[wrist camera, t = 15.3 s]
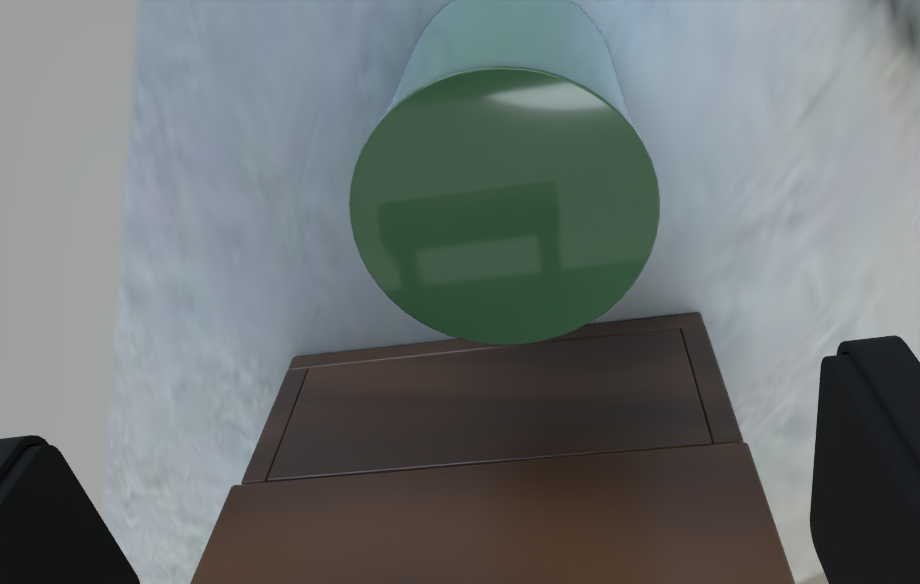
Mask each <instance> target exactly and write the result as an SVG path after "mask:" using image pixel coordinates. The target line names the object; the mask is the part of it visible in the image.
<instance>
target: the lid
mask: <svg viewBox="0 0 920 584" xmlns="http://www.w3.org/2000/svg"><path fill="white" fill-rule="evenodd" d="M190 584H795V582H794V579H793V576H792V573H791V570H790V567H789V564H788V561H787V558H786V555H785V552H784V549H783V546H782V543H781V540H780V537H779V535H778V532H777V529H776V526H775V523H774V520H773V517H772V514H771V511H770V508H769V505H768V502H767V499H766V496H765V493H764V490H763V487H762V484H761V481H760V478H759V475H758V472H757V469H756V466H755V463H754V461H753V458H752V455H751V452H750V449H749V446H748V444H747V443H733V444H721V445H709V446H697V447H685V448H673V449H661V450H649V451H638V452H626V453H614V454H602V455H590V456H578V457H566V458H554V459H542V460H530V461H518V462H506V463H495V464H483V465H471V466H459V467H447V468H435V469H423V470H411V471H399V472H387V473H375V474H364V475H352V476H340V477H328V478H316V479H304V480H292V481H280V482H268V483H256V484H244V485H234V486H232V487H231V489H230V492H229V494H228V496H227V499H226V501H225V503H224V506H223V508H222V510H221V513H220V515H219V518H218V520H217V522H216V525H215V527H214V529H213V532H212V534H211V536H210V539H209V541H208V543H207V546H206V548H205V550H204V553H203V555H202V558H201V560H200V562H199V565H198V567H197V569H196V572H195V574H194V576H193V579H192V581H191V583H190Z"/></svg>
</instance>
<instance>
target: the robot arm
mask: <svg viewBox="0 0 920 584" xmlns="http://www.w3.org/2000/svg"><path fill="white" fill-rule="evenodd" d="M810 528H811V534H812V539H813V543H814V547H815V550H816V553H817V555H818V558H819V560H820V563H821V565H822V568H823V570H824V572H825V575H826V577H827V580H828V582H829V584H920V362H919V361H918V359H917V358H916V357H915V355H914V354H913V353H912V351H911V350H910V348H909V347H908V346H907V344H906V343H905V342H904V341H903V340H902V339H901V338H900V337H898V336H886V337H878V338H869V339H860V340H852V341H844V342H842V343H840V345H839V347H838V350H837V355H836V356H827V357H824V358H823V360H822V363H821V372H820V386H819V399H818V413H817V427H816V441H815V455H814V469H813V483H812V497H811V511H810ZM0 584H140V581H139V579H138V577H137V575H136V573H135V572H134V570H133V568H132V567H131V565H130V563H129V562H128V560H127V559H126V557H125V555H124V554H123V552H122V551H121V549H120V547H119V546H118V544H117V542H116V541H115V539H114V538H113V536H112V534H111V533H110V531H109V530H108V528H107V526H106V525H105V523H104V521H103V520H102V518H101V517H100V515H99V513H98V512H97V510H96V509H95V507H94V505H93V504H92V502H91V501H90V499H89V497H88V496H87V494H86V493H85V491H84V489H83V488H82V486H81V485H80V483H79V481H78V480H77V478H76V476H75V475H74V473H73V471H72V470H71V468H70V467H69V465H68V463H67V462H66V460H65V458H64V457H63V455H62V454H61V452H60V451H59V450H58V449H57V448H56V447H54V446H52V445H49V444H48V443H47V442H46V440H45V439H43V438H41V437H39V436H32V435H30V436H21V437H13V438H5V439H0Z"/></svg>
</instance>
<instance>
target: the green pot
mask: <svg viewBox="0 0 920 584" xmlns="http://www.w3.org/2000/svg"><path fill="white" fill-rule="evenodd" d="M349 206H350V221H351V226H352V231H353V236H354V240H355V243H356V245H357V248H358V251H359V254H360V256H361V258H362V260H363V262H364V264H365V266H366V268H367V270H368V271H369V273H370V274H371V276H372V277H373V279H374V280H375V282H376V283H377V284H378V286H379V287H380V288H381V289H382V290H383V292H384V293H385V294H386V295H387V296H388V297H389V298H390V299H391V300H392V301H393V302H394V303H395V304H396V305H398V306H399V307H400V308H401V309H402V310H403V311H405V312H406V313H408V314H409V315H410V316H412V317H413V318H415V319H416V320H418V321H419V322H421V323H423V324H425V325H427V326H429V327H431V328H433V329H434V330H437V331H439V332H442V333H445V334H447V335H450V336H452V337H456V338H460V339H463V340H467V341H472V342H478V343H484V344H496V345H515V344H527V343H533V342H540V341H544V340H548V339H551V338H555V337H559V336H562V335H564V334H567V333H569V332H572V331H574V330H577V329H578V328H580V327H582V326H584V325H586V324H588V323H590V322H592V321H593V320H595V319H596V318H597V317H599V316H600V315H602V314H603V313H605V312H606V311H607V310H609V309H610V308H611V307H612V306H613V305H614V304H615V303H616V302H618V301H619V300H620V299H621V298H622V297H623V296H624V294H625V293H626V292H627V291H628V290H629V289H630V287H631V286H632V285H633V284H634V282H635V281H636V279H637V278H638V276H639V275H640V273H641V272H642V270H643V268H644V266H645V264H646V262H647V260H648V258H649V256H650V254H651V251H652V248H653V245H654V242H655V239H656V235H657V229H658V223H659V217H660V197H659V189H658V181H657V177H656V174H655V170H654V167H653V163H652V160H651V157H650V155H649V152H648V150H647V148H646V146H645V144H644V142H643V139H642V137H641V136H640V134H639V133H638V131H637V130H636V128H635V127H634V125H633V124H632V122H631V120H630V117H629V114H628V110H627V107H626V104H625V101H624V98H623V95H622V91H621V88H620V85H619V82H618V79H617V75H616V72H615V69H614V66H613V63H612V60H611V56H610V53H609V50H608V47H607V45H606V43H605V40H604V38H603V36H602V34H601V33H600V31H599V30H598V28H597V26H596V25H595V23H594V22H593V21H592V20H591V19H590V17H589V16H588V15H587V14H586V13H585V12H584V11H583V10H582V9H581V8H580V7H578V6H577V5H576V4H575V3H574V2H572V1H571V0H453V1H452V2H450V3H449V4H448V5H446V6H445V7H444V8H442V9H441V10H440V11H439V12H438V13H437V14H436V15H435V16H434V18H433V19H432V20H431V21H430V23H429V24H428V25H427V27H426V28H425V29H424V31H423V33H422V34H421V36H420V38H419V40H418V42H417V44H416V46H415V48H414V51H413V53H412V55H411V58H410V60H409V62H408V64H407V67H406V69H405V71H404V74H403V76H402V78H401V80H400V83H399V85H398V87H397V90H396V92H395V94H394V96H393V99H392V101H391V103H390V106H389V108H388V110H387V111H386V112H385V113H384V115H383V116H382V117H381V119H380V120H379V121H378V123H377V124H376V125H375V126H374V128H373V130H372V131H371V133H370V135H369V137H368V138H367V140H366V142H365V144H364V146H363V148H362V150H361V153H360V155H359V158H358V161H357V163H356V166H355V169H354V173H353V178H352V182H351V188H350V201H349Z"/></svg>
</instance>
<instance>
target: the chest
mask: <svg viewBox="0 0 920 584" xmlns="http://www.w3.org/2000/svg"><path fill="white" fill-rule="evenodd" d="M733 443H743V438H742V435H741V432H740V429H739V426H738V423H737V420H736V417H735V414H734V411H733V408H732V405H731V402H730V399H729V396H728V393H727V390H726V387H725V384H724V381H723V378H722V375H721V372H720V369H719V366H718V363H717V360H716V357H715V354H714V351H713V348H712V345H711V342H710V339H709V336H708V333H707V330H706V327H705V325H704V322H703V319H702V316H701V314H700V313H693V314H684V315H675V316H665V317H656V318H647V319H638V320H629V321H620V322H611V323H602V324H593V325H584V326H582V327H580V328H578V329H577V330H574V331H572V332H569V333H567V334H564V335H562V336H559V337H555V338H551V339H548V340H544V341H540V342H533V343H527V344H515V345H496V344H484V343H478V342H472V341H467V340H463V339H456V340H447V341H438V342H429V343H420V344H411V345H401V346H392V347H383V348H374V349H365V350H356V351H347V352H338V353H329V354H320V355H310V356H301V357H294V358H293V360H292V362H291V364H290V367H289V370H288V371H287V373H286V376H285V378H284V380H283V383H282V385H281V388H280V390H279V393H278V395H277V397H276V400H275V402H274V405H273V407H272V409H271V412H270V414H269V417H268V419H267V422H266V424H265V426H264V429H263V431H262V434H261V436H260V438H259V441H258V443H257V446H256V448H255V451H254V453H253V455H252V458H251V460H250V463H249V465H248V468H247V470H246V472H245V475H244V477H243V480H242V485H244V484H256V483H268V482H280V481H292V480H304V479H316V478H328V477H340V476H352V475H364V474H375V473H387V472H399V471H411V470H423V469H435V468H447V467H459V466H471V465H483V464H495V463H506V462H518V461H530V460H542V459H554V458H566V457H578V456H590V455H602V454H614V453H626V452H638V451H649V450H661V449H673V448H685V447H697V446H709V445H721V444H733Z"/></svg>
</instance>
